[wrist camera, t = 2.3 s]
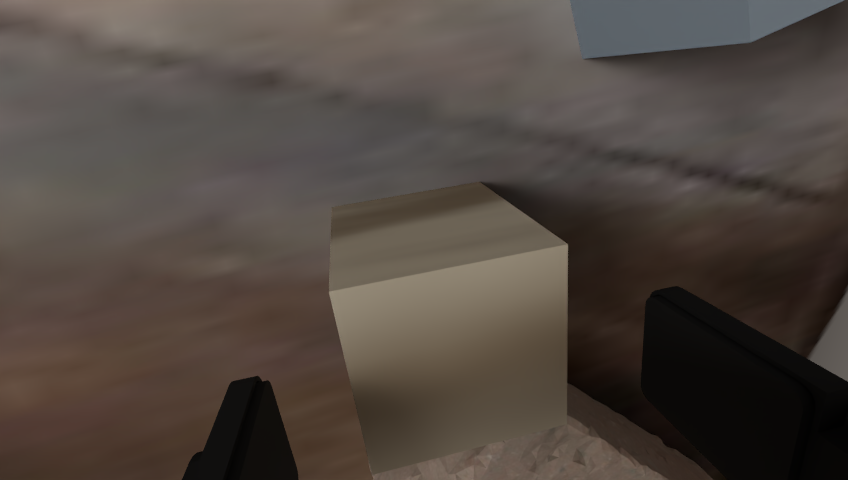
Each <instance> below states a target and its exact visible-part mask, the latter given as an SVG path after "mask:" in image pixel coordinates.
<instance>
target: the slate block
mask: <svg viewBox="0 0 848 480" xmlns="http://www.w3.org/2000/svg"><path fill="white" fill-rule="evenodd" d="M842 1H844V0H570V3H571V8H572V13H573V17H574V22H575V26H576V31H577V36H578V40H579V45H580V49H581V54H582V59H586V58H597V57H607V56H617V55H628V54H638V53H648V52H659V51H669V50H679V49H690V48H700V47H710V46H721V45H731V44H741V43H751V42H753V41H755V40H758V39H760V38H762V37H764V36H766V35H769V34H771V33H773V32H775V31H778V30H780V29H782V28H784V27H786V26H789V25H791V24H793V23H795V22H797V21H800V20H802V19H804V18H806V17H809V16H811V15H813V14H815V13H817V12H820V11H822V10H824V9H826V8H829V7H831V6H833V5H835V4H837V3H840V2H842Z"/></svg>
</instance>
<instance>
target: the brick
mask: <svg viewBox="0 0 848 480" xmlns="http://www.w3.org/2000/svg"><path fill="white" fill-rule="evenodd" d="M369 466H370V464H369ZM370 470H371V468H370ZM371 474H372V472H371ZM372 476H373V480H713V479H712V478H711V477H710V476H709V475H708V474H707V473H706V472H705V471H704V470H703V469H702V468H701V467H700V466H699V465H698V464H697V463H695V462H694V461H693V460H691V459H689V458H687V457H686V456H684V455H683V454H681V453H680V452H679V451H677V450H676V449H673V448H669V447H666V446H665V445H664V444H663V442H662V440H661V439H660V438H659V437H658V436H656V435H652V434H650V433H648V432H647V431H645V430H644V429H642V428H640V427H639V426H637V425H636V424H634V423H633V422H631V421H629V420H628V419H627V418H625V417H624V416H623V415H621V414H619V413H616V412H614V411H613V410H611V409H610V408H609V407H607V406H606V405H604V404H601V403H600V402H598V401H596V400H594V399H592V398H591V397H590V396H588V395H587V394H585V393H584V392H582V391H580V390H579V389H578V388H576V387H575V386H573V385H571V384H569V383H567V424H566V425H562V426H558V427H555V428H551V429H547V430H543V431H539V432H535V433H532V434H528V435H524V436H520V437H516V438H512V439H508V440H505V441H501V442H497V443H493V444H489V445H485V446H482V447H478V448H474V449H470V450H466V451H462V452H459V453H455V454H451V455H447V456H443V457H439V458H436V459H432V460H428V461H424V462H420V463H416V464H413V465H409V466H405V467H401V468H397V469H393V470H390V471H386V472H382V473H378V474H374V475H372Z"/></svg>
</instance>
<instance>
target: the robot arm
mask: <svg viewBox="0 0 848 480" xmlns="http://www.w3.org/2000/svg"><path fill="white" fill-rule="evenodd" d="M641 388H642V391H643V394H644V395H645V397H646V398H647V399H648V401H649V402H650V403H651V404H652V405H653V406H654V407H655V408H656V409H658V410H659V411H660V412H661V413H662V414H663V415H664V416H665V417H666V418H667V419H668V420H669V421H670V422H671V423H672V424H673V425H674V426H675V427H676V428H677V429H678V430H679V431H680V432H681V433H682V434H683V435H684V436H685V437H686V438H687V439H688V440H689V441H690V442H691V443H692V444H693V445H694V446H695V447H696V448H697V449H698V450H699V451H700V452H701V453H702V454H703V455H704V456H705V457H706V458H707V459H708V460H709V461H710V462H711V463H712V464H713V465H714V466H715V467H716V468H717V469H718V470H719V471H720V472H721V473H722V474H723V475H724V476H725V477H726V478H727V479H728V480H848V382H847V381H845V380H844V379H842V378H840V377H838V376H837V375H835V374H833V373H831V372H829V371H828V370H826V369H824V368H822V367H821V366H819V365H817V364H815V363H814V362H812V361H810V360H808V359H806V358H805V357H803V356H801V355H799V354H798V353H796V352H794V351H792V350H791V349H789V348H787V347H785V346H783V345H782V344H780V343H778V342H776V341H775V340H773V339H771V338H769V337H768V336H766V335H764V334H762V333H760V332H759V331H757V330H755V329H753V328H752V327H750V326H748V325H746V324H745V323H743V322H741V321H739V320H737V319H736V318H734V317H732V316H730V315H729V314H727V313H725V312H723V311H722V310H720V309H718V308H716V307H714V306H713V305H711V304H709V303H707V302H706V301H704V300H702V299H700V298H699V297H697V296H695V295H693V294H691V293H690V292H688V291H686V290H684V289H683V288H681V287H678V286H675V287H669V288H665V289H660V290H655V291H654V292H652V294H651V295H650V298H648V299H647V301H646V306H645V323H644V340H643V356H642V373H641ZM182 480H298V471H297V467H296V464H295V461H294V457H293V454H292V451H291V448H290V444H289V441H288V438H287V435H286V431H285V428H284V425H283V422H282V418H281V415H280V412H279V409H278V406H277V402H276V399H275V396H274V393H273V389H272V386H271V383H270V382H269V381H268V380H267V381H263V382H262V380H261V379H260V377H259V376H255V377H250V378H246V379H241V380H236V381H233V382H231V383H230V385H229V387H228V390H227V392H226V395H225V397H224V400H223V402H222V405H221V407H220V410H219V412H218V415H217V417H216V420H215V423H214V425H213V428H212V430H211V433H210V435H209V438H208V440H207V443H206V445H205V448H204V450H203V451H202V452H198V453H196V454H195V455H194V456H193V457H192V459H191V460H190V462H189V464H188V467H187V469H186V471H185V474H184V476H183V479H182Z"/></svg>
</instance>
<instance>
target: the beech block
mask: <svg viewBox="0 0 848 480" xmlns="http://www.w3.org/2000/svg"><path fill="white" fill-rule="evenodd" d="M329 294H330V298H331V303H332V307H333V311H334V315H335V320H336V324H337V328H338V332H339V337H340V341H341V345H342V349H343V353H344V358H345V362H346V366H347V370H348V375H349V379H350V383H351V387H352V392H353V396H354V400H355V404H356V409H357V413H358V417H359V421H360V426H361V430H362V434H363V438H364V443H365V447H366V451H367V455H368V460H369V464H370V468H371V472H372V475H374V474H378V473H382V472H386V471H390V470H393V469H397V468H401V467H405V466H409V465H413V464H416V463H420V462H424V461H428V460H432V459H436V458H439V457H443V456H447V455H451V454H455V453H459V452H462V451H466V450H470V449H474V448H478V447H482V446H485V445H489V444H493V443H497V442H501V441H505V440H508V439H512V438H516V437H520V436H524V435H528V434H532V433H535V432H539V431H543V430H547V429H551V428H555V427H558V426H562V425H566V424H567V324H568V244H567V243H566V242H564V241H563V240H561V239H560V238H559V237H557V236H556V235H554V234H553V233H551V232H550V231H549V230H547V229H546V228H544V227H543V226H541V225H540V224H539V223H537V222H536V221H534V220H533V219H532V218H530V217H529V216H527V215H526V214H524V213H523V212H522V211H520V210H519V209H517V208H516V207H514V206H513V205H512V204H510V203H509V202H507V201H506V200H505V199H503V198H502V197H500V196H499V195H497V194H496V193H495V192H493V191H492V190H490V189H489V188H487V187H486V186H485V185H483V184H482V183H480V182H475V183H469V184H464V185H458V186H452V187H446V188H441V189H435V190H429V191H423V192H417V193H412V194H406V195H400V196H394V197H388V198H383V199H377V200H371V201H365V202H359V203H354V204H348V205H342V206H336V207H332V217H331V246H330V276H329Z"/></svg>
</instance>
